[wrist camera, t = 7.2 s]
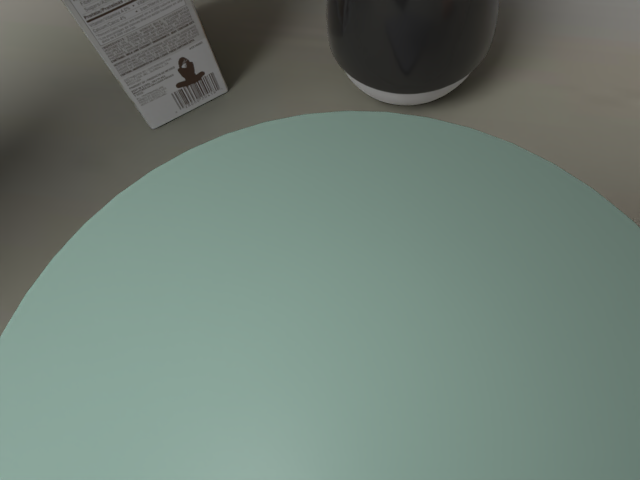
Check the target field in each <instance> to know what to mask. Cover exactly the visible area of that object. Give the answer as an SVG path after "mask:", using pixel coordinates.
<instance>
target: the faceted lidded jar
mask: <svg viewBox="0 0 640 480" xmlns="http://www.w3.org/2000/svg"><path fill="white" fill-rule="evenodd" d="M0 480H640V228H639V227H638V226H637V225H636V224H635V223H634V222H633V221H632V220H631V219H630V218H629V217H627V216H626V215H625V214H624V213H622V212H621V211H620V210H619V209H617V208H616V207H615V206H614V205H612V204H611V203H610V202H609V201H607V200H606V199H605V198H604V197H603V196H601V195H600V194H599V193H598V192H596V191H595V190H594V189H592V188H591V187H589V186H588V185H586V184H584V183H583V182H581V181H580V180H578V179H577V178H575V177H574V176H572V175H570V174H569V173H567V172H566V171H564V170H563V169H561V168H559V167H558V166H556V165H555V164H553V163H551V162H549V161H547V160H545V159H543V158H541V157H539V156H537V155H535V154H533V153H531V152H529V151H527V150H525V149H523V148H521V147H519V146H517V145H515V144H513V143H510V142H508V141H505V140H502V139H499V138H497V137H494V136H491V135H488V134H486V133H483V132H480V131H477V130H475V129H472V128H469V127H465V126H461V125H457V124H453V123H449V122H444V121H440V120H436V119H432V118H428V117H421V116H413V115H406V114H398V113H391V112H369V111H339V112H327V113H315V114H304V115H299V116H294V117H288V118H283V119H278V120H273V121H268V122H263V123H260V124H257V125H254V126H250V127H247V128H244V129H241V130H237V131H234V132H231V133H228V134H225V135H222V136H220V137H218V138H215V139H213V140H211V141H208V142H206V143H204V144H201V145H199V146H197V147H194V148H192V149H190V150H188V151H186V152H184V153H182V154H181V155H179V156H177V157H175V158H173V159H172V160H170V161H168V162H166V163H164V164H163V165H161V166H159V167H157V168H156V169H154V170H152V171H151V172H149V173H148V174H146V175H145V176H143V177H142V178H141V179H139V180H138V181H136V182H135V183H134V184H132V185H131V186H129V187H128V188H127V189H125V190H124V191H122V192H121V193H119V194H118V195H117V196H116V197H114V198H113V199H112V200H111V201H110V202H109V203H108V204H106V205H105V206H104V207H103V208H102V209H101V210H100V211H99V212H97V213H96V214H95V215H94V216H93V217H92V218H91V219H89V220H88V221H87V222H86V223H85V224H84V225H83V226H82V227H81V228H80V229H79V230H78V231H77V232H76V233H75V235H74V236H73V237H72V238H71V239H70V240H69V241H68V242H67V243H66V244H65V245H64V246H63V248H62V249H61V250H60V251H59V252H58V253H57V254H56V255H55V256H54V257H53V259H52V260H51V261H50V263H49V264H48V265H47V267H46V268H45V269H44V271H43V272H42V273H41V275H40V276H39V277H38V279H37V280H36V281H35V283H34V284H33V285H32V287H31V288H30V289H29V291H28V292H27V293H26V295H25V296H24V298H23V300H22V301H21V303H20V305H19V306H18V308H17V310H16V311H15V313H14V315H13V316H12V318H11V320H10V321H9V323H8V325H7V326H6V328H5V330H4V331H3V333H2V335H1V336H0Z"/></svg>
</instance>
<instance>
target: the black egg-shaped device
mask: <svg viewBox="0 0 640 480" xmlns="http://www.w3.org/2000/svg"><path fill="white" fill-rule="evenodd" d="M498 10H499V0H327V8H326V22H327V34H328V41H329V45H330V49H331V51H332V54H333V56H334V58H335V59H336V61H337V63H338V64H339V65H340V67H341V68H342V69H343V70H344V71H345V73H346V74H347V76H348V77H349V78H350V79H351V81H352V82H353V83H354V84H355V85H356V86H357V87H358V88H359V89H361V90H362V91H363V92H364V93H366V94H368V95H369V96H371V97H373V98H375V99H377V100H380V101H382V102H386V103H390V104H395V105H417V104H423V103H427V102H430V101H433V100H436V99H438V98H440V97H442V96H444V95H446V94H448V93H449V92H451V91H452V90H453V89H455V88H456V87H457V86H458V85H460V84H461V83H462V82H463V81H464V80H465V79H466V78H467V76H468V75H469V74H470V73H471V72H472V71H473V70H474V69H475V68H476V67H477V66H478V65H479V64H480V63H481V62H482V60H483V59H484V57H485V56H486V54H487V52H488V50H489V48H490V46H491V43H492V40H493V37H494V33H495V29H496V24H497V18H498Z"/></svg>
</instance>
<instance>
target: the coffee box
mask: <svg viewBox="0 0 640 480" xmlns="http://www.w3.org/2000/svg"><path fill="white" fill-rule="evenodd" d="M62 2H63V3H64V4H65V6H66V7H67V9H68V10H69V12H70V13H71V15H72V16H73V17H74V19H75V20H76V22H77V23H78V25H79V26H80V27H81V29H82V30H83V32H84V33H85V35H86V36H87V37H88V39H89V40H90V42H91V43H92V45H93V46H94V48H95V49H96V50H97V52H98V53H99V55H100V56H101V58H102V59H103V60H104V62H105V63H106V65H107V66H108V68H109V69H110V70H111V72H112V73H113V75H114V76H115V78H116V79H117V81H118V82H119V84H120V85H121V86H122V88H123V89H124V91H125V92H126V93H127V95H128V97H129V98H130V100H131V101H132V102H133V104H134V105H135V107H136V108H137V109H138V111H139V112H140V114H141V115H142V116H143V118H144V119H145V121H146V122H147V124H148V125H149V126H150V128H151V129H155V128H157V127H159V126H161V125H163V124H165V123H167V122H169V121H171V120H173V119H175V118H177V117H179V116H181V115H183V114H185V113H187V112H189V111H191V110H193V109H195V108H197V107H198V106H200V105H202V104H204V103H206V102H208V101H210V100H212V99H214V98H216V97H218V96H220V95H222V94H224V93H226V92H227V91H228V87H227V85H226V82H225V80H224V78H223V75H222V73H221V70H220V68H219V65H218V63H217V60H216V58H215V55H214V53H213V50H212V48H211V46H210V43H209V41H208V38H207V36H206V33H205V31H204V28H203V26H202V23H201V21H200V19H199V16H198V14H197V11H196V9H195V6H194V4H193V1H192V0H62Z"/></svg>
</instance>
